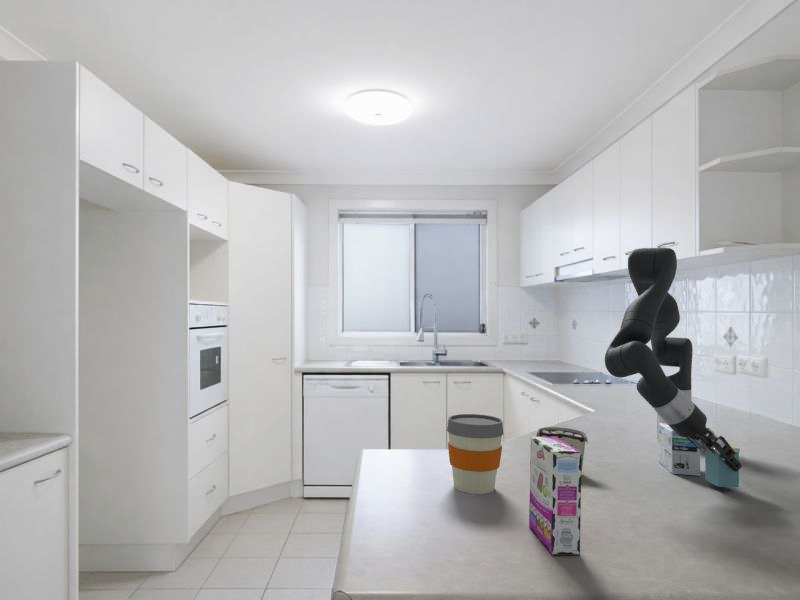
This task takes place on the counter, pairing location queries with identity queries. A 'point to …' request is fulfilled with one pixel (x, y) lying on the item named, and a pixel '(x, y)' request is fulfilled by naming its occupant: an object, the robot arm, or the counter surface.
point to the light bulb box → (677, 452)
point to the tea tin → (720, 470)
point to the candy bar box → (555, 495)
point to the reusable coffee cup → (474, 451)
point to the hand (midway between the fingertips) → (729, 464)
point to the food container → (566, 437)
